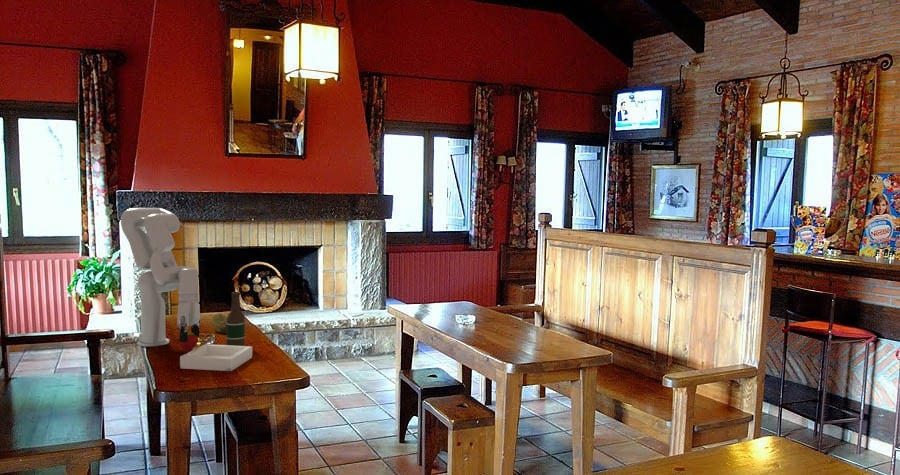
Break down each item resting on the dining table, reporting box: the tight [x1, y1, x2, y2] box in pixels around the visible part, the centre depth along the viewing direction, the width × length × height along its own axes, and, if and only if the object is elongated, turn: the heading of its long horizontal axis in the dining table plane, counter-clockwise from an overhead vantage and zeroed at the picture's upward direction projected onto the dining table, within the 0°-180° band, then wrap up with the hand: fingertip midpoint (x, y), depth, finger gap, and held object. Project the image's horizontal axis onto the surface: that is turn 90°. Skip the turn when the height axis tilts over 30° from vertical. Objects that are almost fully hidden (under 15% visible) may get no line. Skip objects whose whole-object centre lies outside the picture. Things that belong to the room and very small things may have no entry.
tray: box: [179, 343, 253, 372], centre depth 255 cm, size 20×20×4 cm
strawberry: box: [178, 329, 199, 354], centre depth 269 cm, size 6×8×10 cm
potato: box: [211, 313, 228, 334], centre depth 309 cm, size 8×13×8 cm, turn 26°
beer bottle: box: [225, 291, 246, 346], centre depth 279 cm, size 8×8×24 cm
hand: (189, 339), depth 268 cm, fingers open, 9 cm apart
